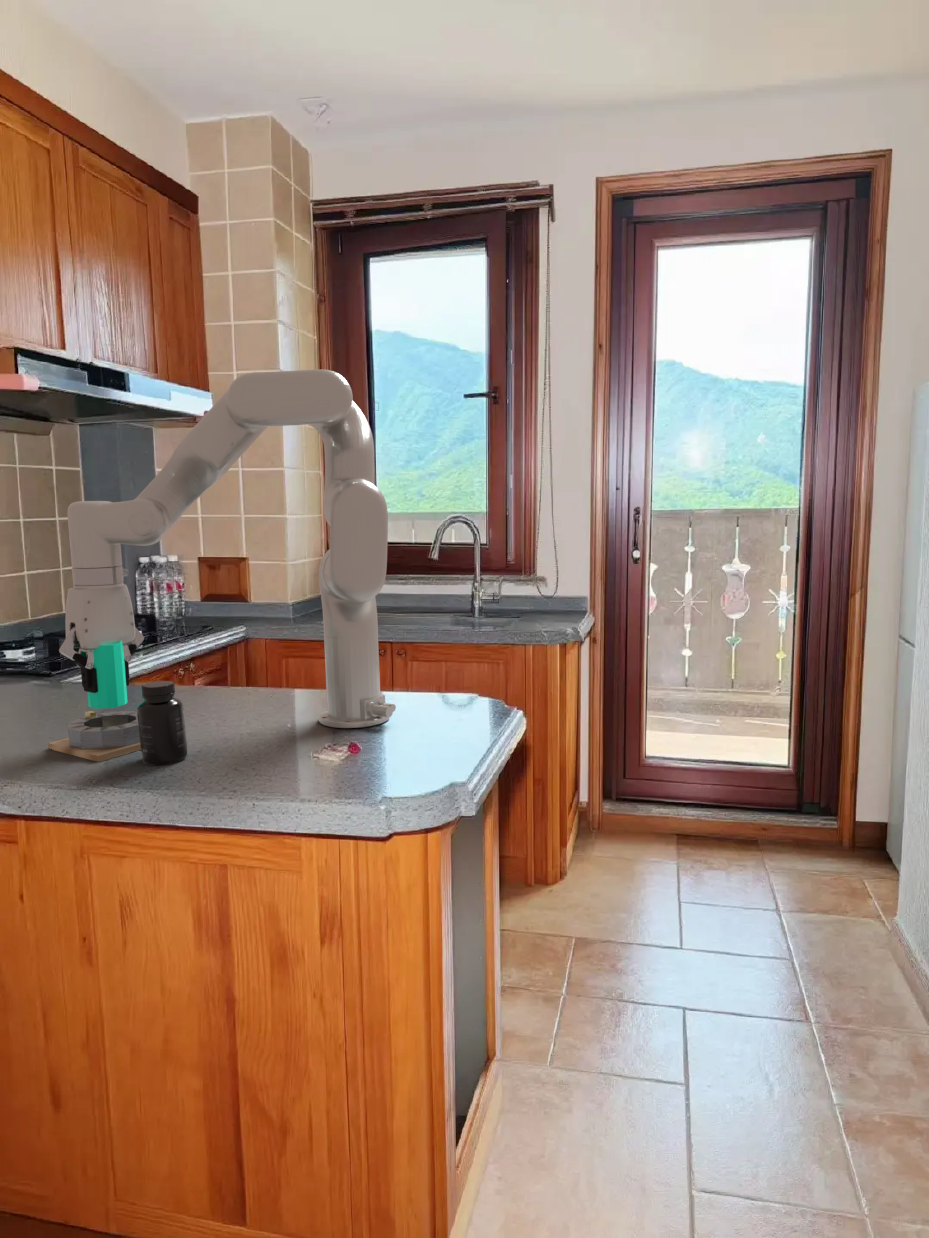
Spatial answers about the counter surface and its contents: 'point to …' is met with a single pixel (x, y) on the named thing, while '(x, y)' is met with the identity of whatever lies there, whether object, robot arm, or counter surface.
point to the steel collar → (104, 730)
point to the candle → (109, 677)
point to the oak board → (92, 754)
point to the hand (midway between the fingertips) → (106, 687)
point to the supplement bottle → (161, 724)
